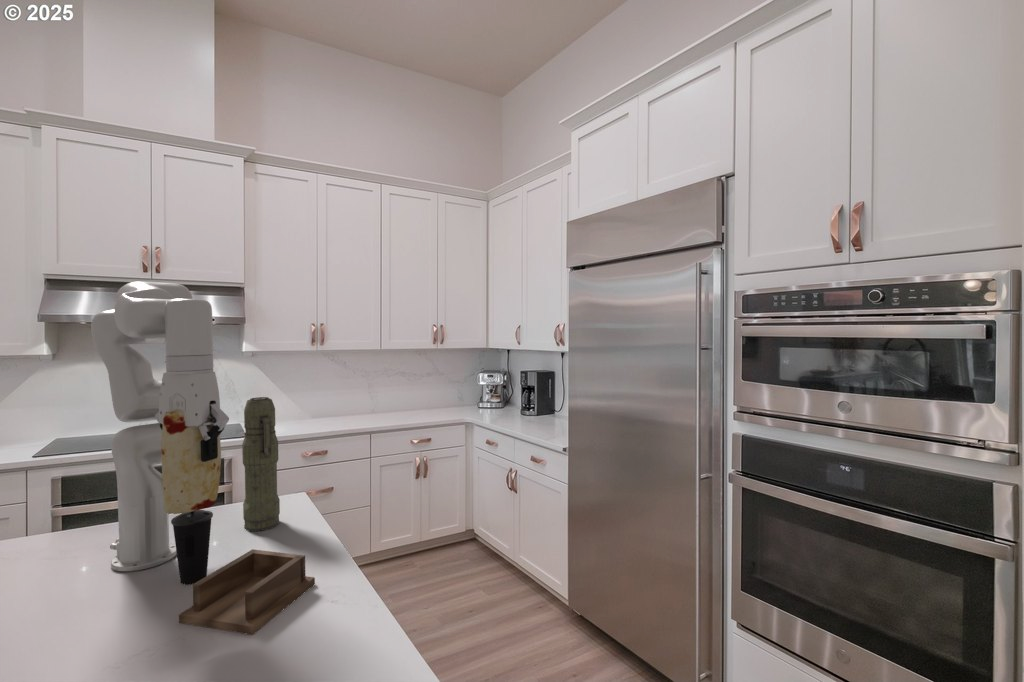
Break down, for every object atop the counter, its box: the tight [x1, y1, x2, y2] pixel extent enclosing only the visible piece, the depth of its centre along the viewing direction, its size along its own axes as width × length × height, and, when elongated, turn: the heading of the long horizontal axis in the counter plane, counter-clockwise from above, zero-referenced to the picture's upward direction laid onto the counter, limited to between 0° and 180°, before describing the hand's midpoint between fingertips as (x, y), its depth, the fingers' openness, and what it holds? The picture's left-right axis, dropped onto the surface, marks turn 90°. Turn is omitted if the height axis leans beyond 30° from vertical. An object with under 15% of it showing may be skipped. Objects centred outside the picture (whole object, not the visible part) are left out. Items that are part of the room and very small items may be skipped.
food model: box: [161, 409, 222, 515], centre depth 96 cm, size 10×7×20 cm
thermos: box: [241, 396, 281, 532], centre depth 139 cm, size 9×12×35 cm
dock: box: [178, 549, 316, 636], centre depth 101 cm, size 16×18×6 cm
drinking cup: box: [170, 509, 214, 586], centre depth 110 cm, size 8×8×20 cm
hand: (192, 457), depth 96 cm, fingers closed on food model, 7 cm apart
